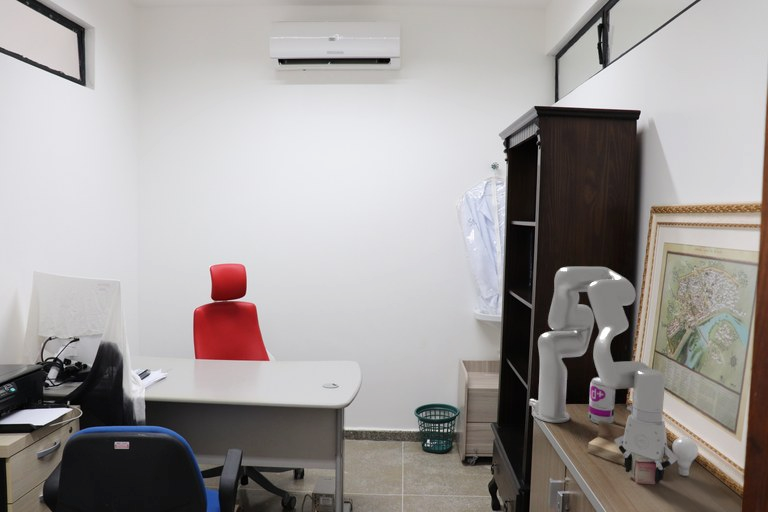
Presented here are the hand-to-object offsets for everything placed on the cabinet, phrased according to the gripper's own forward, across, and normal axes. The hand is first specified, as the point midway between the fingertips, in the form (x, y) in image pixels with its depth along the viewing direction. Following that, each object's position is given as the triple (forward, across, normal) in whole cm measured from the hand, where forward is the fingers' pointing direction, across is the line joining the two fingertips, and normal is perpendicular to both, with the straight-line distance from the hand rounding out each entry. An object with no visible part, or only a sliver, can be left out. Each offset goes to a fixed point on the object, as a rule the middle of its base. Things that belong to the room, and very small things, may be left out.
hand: (643, 475), depth 142 cm
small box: (+2, 0, 0) cm, 2 cm away
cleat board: (+1, -8, +9) cm, 12 cm away
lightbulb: (+2, +7, +12) cm, 14 cm away
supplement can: (+2, -26, +33) cm, 42 cm away
